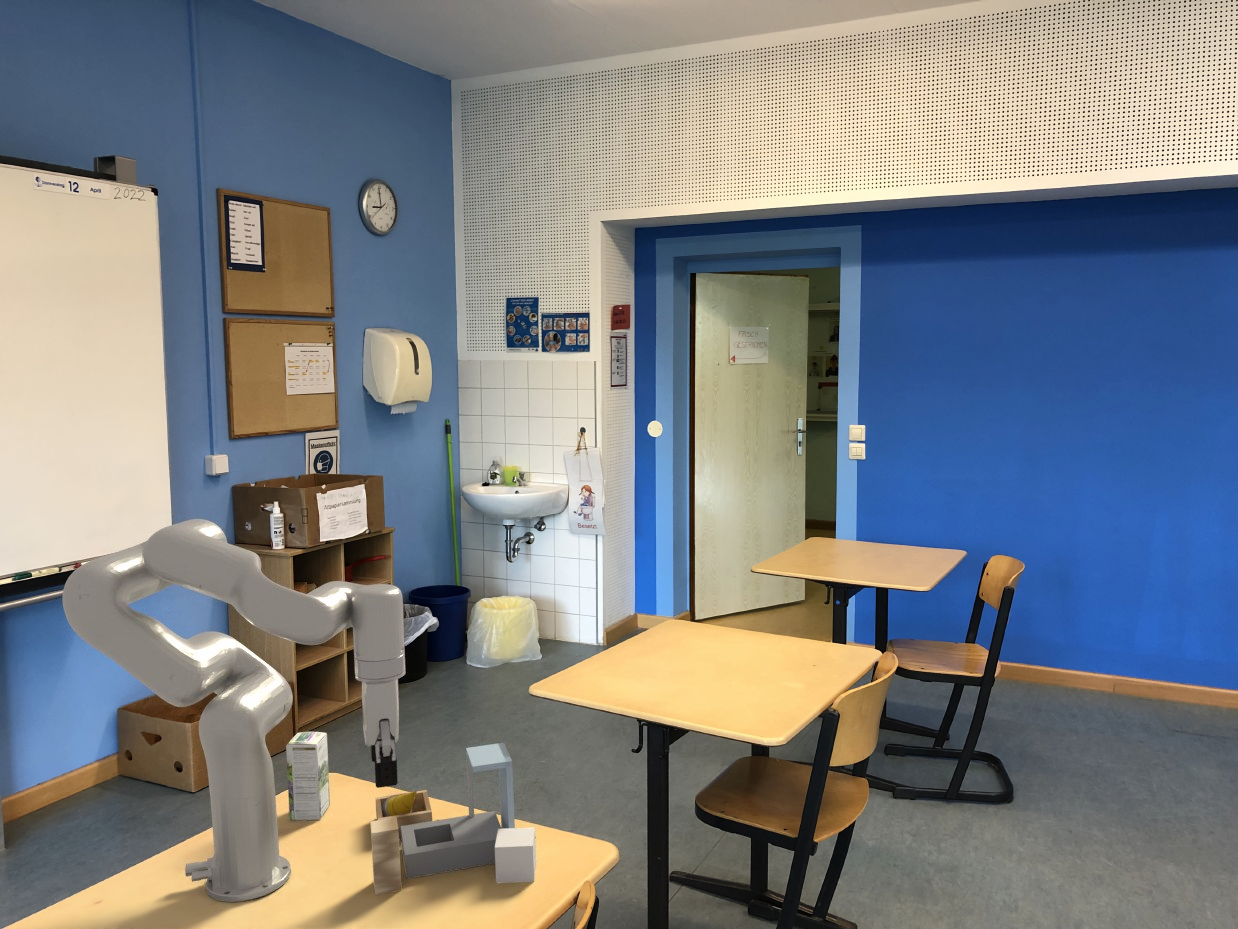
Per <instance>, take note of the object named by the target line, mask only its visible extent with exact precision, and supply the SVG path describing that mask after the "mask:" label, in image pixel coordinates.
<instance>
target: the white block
mask: <svg viewBox="0 0 1238 929" xmlns="http://www.w3.org/2000/svg"><path fill="white" fill-rule="evenodd" d="M536 842H537V841H536V827H535V826H533V827H531V826H529V827H515V828H505V829H498V833H497V838H496V843H495V863H494V864H495V883H496V884H505V883H506V884H507V883H508V884H509V883H530V882H533V883H534V882H535V879H536V868H537V867H536V866H537V850H536V848H537V845H536Z"/></svg>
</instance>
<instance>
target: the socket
mask: <svg viewBox="0 0 1238 929" xmlns="http://www.w3.org/2000/svg"><path fill="white" fill-rule="evenodd" d="M498 829H502V828H501V822H500V820H499V818H498V816H497V812H496V810H492V811H486V812H480V813H474V817H469V814H467V815H461V816H455V817H450V818H448V817H447V818H444V819H443V818H442V819H438V820H432V821H430V822H424V823H418V824H411V825H405V826H401V839H400V840H401V841H400V842H401V852H402V858H403V859H402V860H403V866H404V871H405V878H406V880H408V879H415V878H420V877H425V876H430V875H431V876H432V875H436V874H442V873H447V872H452V871H458V870H464V869H470V868H474V867H481V866H486V865H493V864H495V843H496V838H497V833H498Z"/></svg>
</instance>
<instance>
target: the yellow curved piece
mask: <svg viewBox="0 0 1238 929" xmlns="http://www.w3.org/2000/svg"><path fill="white" fill-rule="evenodd" d="M410 792H411V793H409V792H406V793H407V794H404V795H400V796H399V795H396V794H391V795H392V796H390V795H389V796H390V797H389V798H388V799H387V800H386V801H385V802H384V804H383V807H382V811H383V815H384V817H390V816H396V815H402V814H408V813H412V806H413V802H414V799H415V796H416V793H417V790H415V791H410Z"/></svg>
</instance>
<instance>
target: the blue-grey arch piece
mask: <svg viewBox="0 0 1238 929" xmlns="http://www.w3.org/2000/svg"><path fill="white" fill-rule="evenodd" d="M465 755H466V756H465V757H466V775H467V776H466V780H467V796H468V797H467V799H468V800H467V801H468V815H469V817H474V814H475V804H474V800H475V798H474V780H473V773H479V772H485V771H486V772H487V771H492V770H498V778H499V780H498V781H499V782H498V783H499V803H500V804H499V805H500V826H501V828H502V829H505V828H516V824H515V823H516V822H515V801H514V800H515V799H514V798H515V797H514V796H515V795H514V775H513V774H514V773H513V772H514V771H513V760H512V758H511V755H510V754H509V751H508V749H507V747H506V744H505V743H504V742H499V743H493V744H492V743H491V744H484V745H477V746H471V747H465Z"/></svg>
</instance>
